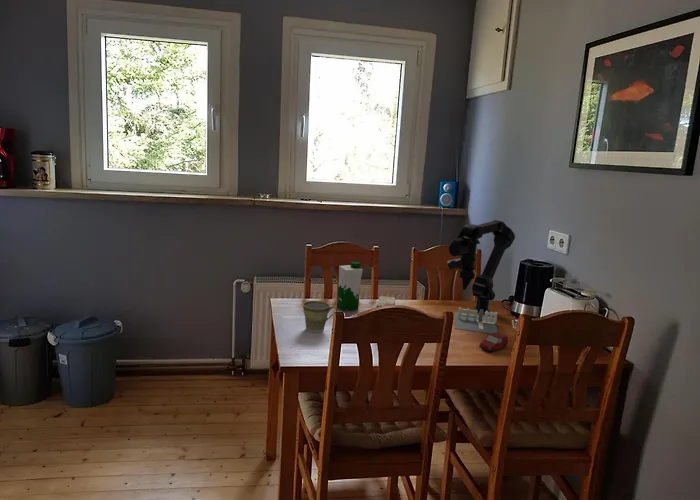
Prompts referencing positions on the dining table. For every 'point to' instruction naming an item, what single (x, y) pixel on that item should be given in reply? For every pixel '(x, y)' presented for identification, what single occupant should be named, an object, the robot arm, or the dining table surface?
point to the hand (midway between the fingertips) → (464, 289)
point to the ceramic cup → (316, 315)
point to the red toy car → (494, 342)
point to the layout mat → (474, 324)
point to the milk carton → (349, 286)
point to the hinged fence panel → (467, 313)
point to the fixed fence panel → (487, 316)
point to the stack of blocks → (385, 301)
